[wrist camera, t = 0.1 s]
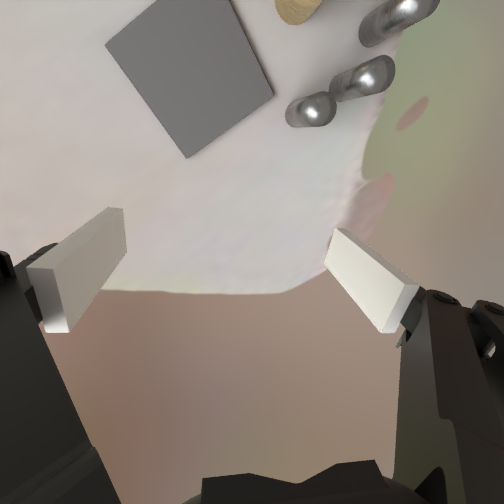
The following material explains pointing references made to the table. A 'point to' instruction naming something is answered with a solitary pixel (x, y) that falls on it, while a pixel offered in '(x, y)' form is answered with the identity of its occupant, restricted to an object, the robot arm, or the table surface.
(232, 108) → the mat
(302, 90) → the table surface
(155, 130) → the table surface
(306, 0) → the brass canister
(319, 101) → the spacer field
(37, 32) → the table surface
